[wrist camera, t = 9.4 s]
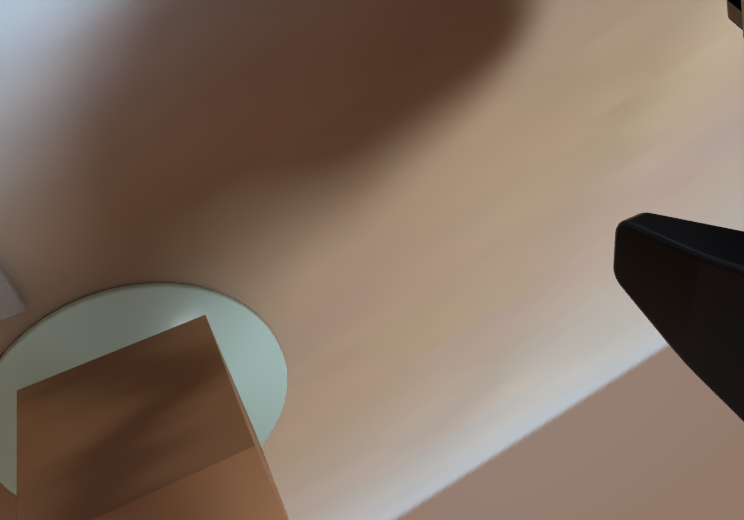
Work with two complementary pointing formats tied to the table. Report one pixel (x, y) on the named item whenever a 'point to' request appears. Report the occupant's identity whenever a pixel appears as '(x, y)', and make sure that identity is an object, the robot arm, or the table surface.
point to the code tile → (9, 298)
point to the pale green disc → (132, 324)
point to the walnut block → (143, 438)
